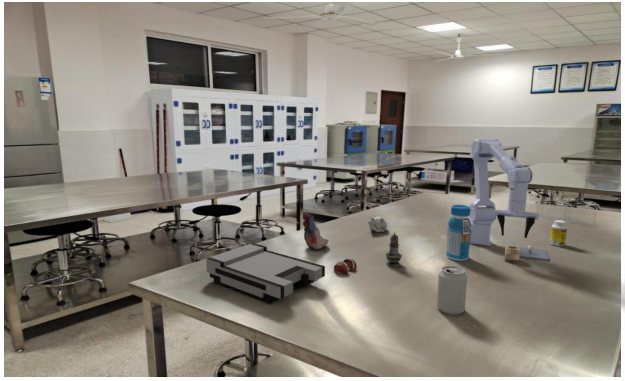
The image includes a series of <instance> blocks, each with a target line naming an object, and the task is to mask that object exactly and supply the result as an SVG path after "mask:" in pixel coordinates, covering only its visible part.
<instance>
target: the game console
mask: <svg viewBox="0 0 625 381" xmlns="http://www.w3.org/2000/svg"><path fill="white" fill-rule="evenodd" d="M205 263H206V264H205V265H206V267H205V268H206V273H208V274H209V278H211V279H213V283H214V284H216V285H218V286H221V287H223V288H226V289H228V290H230V291H231V290H232V291H234V292H236V293H239V294H242V295H244V296H246V297H250V298H252V299H255V300H257V301H259V302H262V303H265V304H268V305H271V304H273V303H277V302H279V301H280V300H282V299H284V298H286V297H288V296H290V295H292V294H294V288H295V289H297V290H300V289H302V288H305V287H306V288H307V286H309V285H311V284H313V283H315V282H317V281H318V280H321V279H323V278H324V277H325V276H326V265H322V264H319V263H316V262H311V261H308V260H304V259H301V258H297V257H293V256H291V255H290V256H289V255H287V254H283V253H279V252H275V251H272V250H269V249H268V248H267V245H262V244H258V243H254V242H252V243H249V244H246V245H243V246H240V247H237V248H234V249H231V250H227V251H225V252H222V253H218V254H216V255H212V256H210V257H207V258H205Z"/></svg>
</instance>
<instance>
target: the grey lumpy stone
mask: <svg viewBox="0 0 625 381" xmlns="http://www.w3.org/2000/svg"><path fill="white" fill-rule="evenodd" d="M367 222H368V223H367V224H368V227H369V230H370V232H376V233H385V231H386V230H387V229H388V223H387V221H386V220H385V219H384V217H383V216H375V217H374V218H371V219H369V220H368V221H367Z"/></svg>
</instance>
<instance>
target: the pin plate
mask: <svg viewBox="0 0 625 381" xmlns="http://www.w3.org/2000/svg"><path fill="white" fill-rule="evenodd" d="M519 248H520V256H519V258H522V259H523V258H525V259H533V260H538V261H539V260H540V261H548V262H549V261H550V258H549V255H548V254H547V251H546V249H541V248H540V249H539V248H533V245H528V246H527V247H523V246H519Z"/></svg>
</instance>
